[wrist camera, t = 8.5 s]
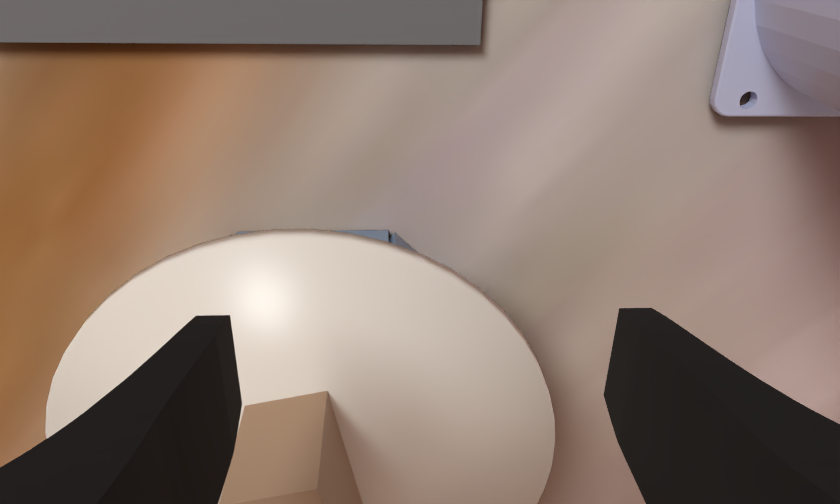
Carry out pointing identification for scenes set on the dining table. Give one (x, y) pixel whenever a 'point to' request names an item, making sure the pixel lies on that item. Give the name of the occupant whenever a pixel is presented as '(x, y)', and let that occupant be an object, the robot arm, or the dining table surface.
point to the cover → (338, 370)
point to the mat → (243, 21)
